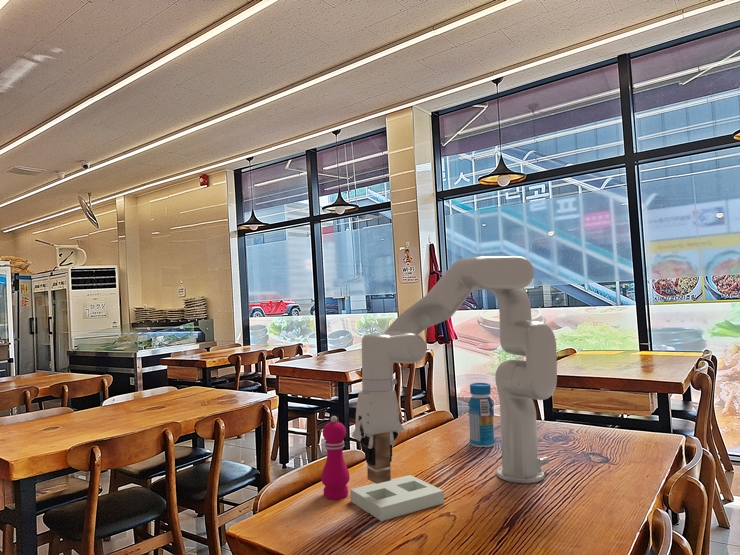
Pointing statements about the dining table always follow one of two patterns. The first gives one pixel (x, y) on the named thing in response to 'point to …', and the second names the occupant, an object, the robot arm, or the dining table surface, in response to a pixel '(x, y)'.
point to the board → (396, 497)
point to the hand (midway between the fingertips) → (378, 461)
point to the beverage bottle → (481, 415)
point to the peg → (380, 459)
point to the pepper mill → (335, 461)
